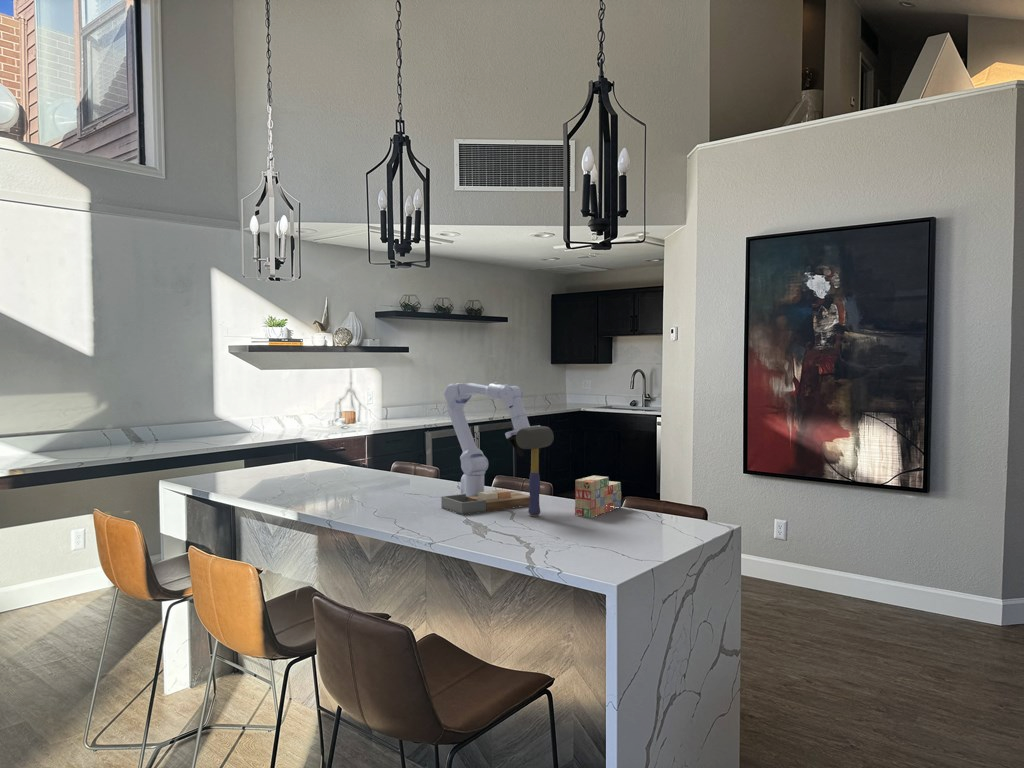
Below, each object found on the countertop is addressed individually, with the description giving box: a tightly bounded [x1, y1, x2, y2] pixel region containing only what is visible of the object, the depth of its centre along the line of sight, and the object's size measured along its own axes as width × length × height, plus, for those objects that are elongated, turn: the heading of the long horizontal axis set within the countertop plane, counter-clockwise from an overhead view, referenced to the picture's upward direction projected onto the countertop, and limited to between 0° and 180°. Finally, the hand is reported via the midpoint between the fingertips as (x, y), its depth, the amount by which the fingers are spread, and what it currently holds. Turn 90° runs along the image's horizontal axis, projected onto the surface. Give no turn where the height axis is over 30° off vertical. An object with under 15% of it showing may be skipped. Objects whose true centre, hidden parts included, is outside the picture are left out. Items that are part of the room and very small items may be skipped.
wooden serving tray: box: [466, 490, 530, 512], centre depth 254 cm, size 14×20×3 cm
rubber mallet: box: [516, 425, 555, 518], centre depth 235 cm, size 12×8×30 cm, turn 137°
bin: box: [440, 493, 487, 515], centre depth 246 cm, size 14×10×4 cm
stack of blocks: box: [574, 475, 622, 518], centre depth 244 cm, size 21×6×12 cm, turn 144°
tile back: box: [492, 488, 512, 498], centre depth 255 cm, size 5×5×2 cm
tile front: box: [478, 490, 498, 500], centre depth 251 cm, size 5×5×2 cm
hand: (530, 453), depth 252 cm, fingers open, 7 cm apart
